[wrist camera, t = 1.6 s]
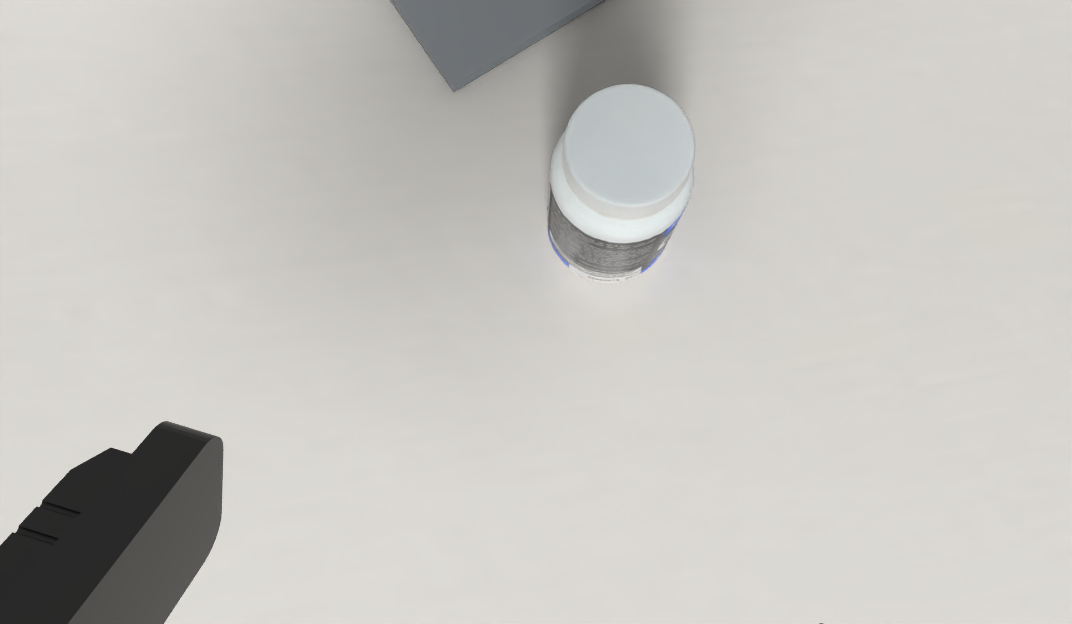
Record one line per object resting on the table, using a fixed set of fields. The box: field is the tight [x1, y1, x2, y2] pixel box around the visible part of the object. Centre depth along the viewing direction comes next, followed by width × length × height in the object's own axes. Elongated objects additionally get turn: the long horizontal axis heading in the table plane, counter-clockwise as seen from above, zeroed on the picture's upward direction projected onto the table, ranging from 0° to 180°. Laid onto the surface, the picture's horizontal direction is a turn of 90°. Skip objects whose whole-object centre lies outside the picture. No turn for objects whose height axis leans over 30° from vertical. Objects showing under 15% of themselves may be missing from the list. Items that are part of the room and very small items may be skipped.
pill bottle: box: [547, 84, 695, 283], centre depth 31 cm, size 5×5×8 cm
